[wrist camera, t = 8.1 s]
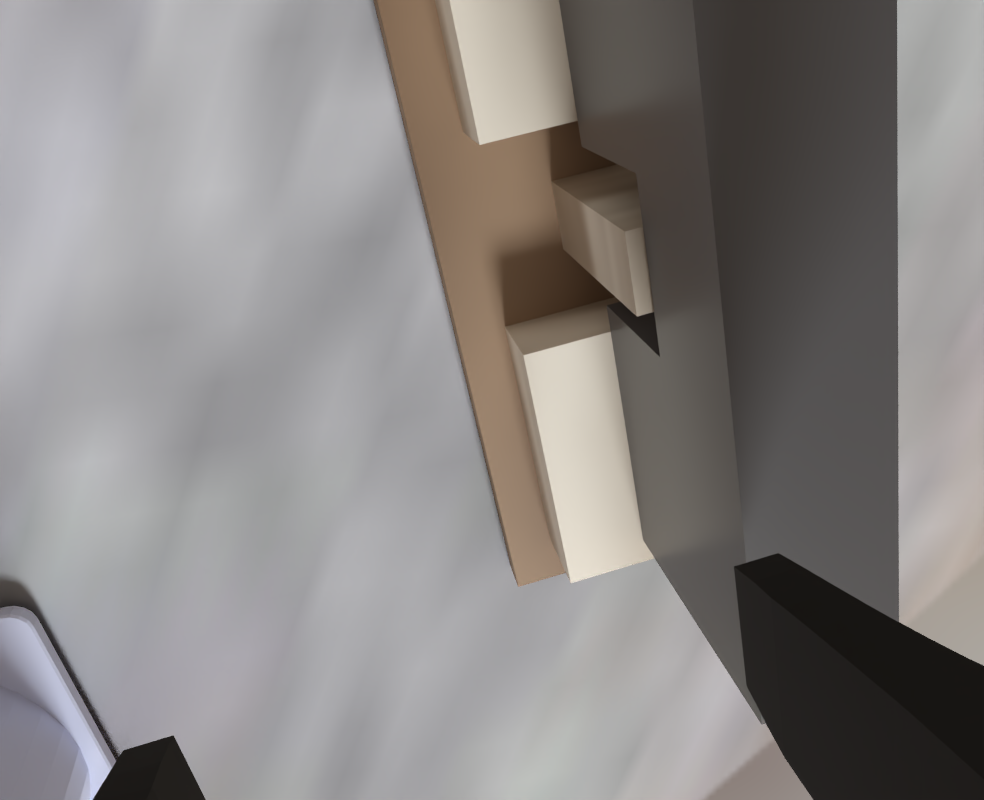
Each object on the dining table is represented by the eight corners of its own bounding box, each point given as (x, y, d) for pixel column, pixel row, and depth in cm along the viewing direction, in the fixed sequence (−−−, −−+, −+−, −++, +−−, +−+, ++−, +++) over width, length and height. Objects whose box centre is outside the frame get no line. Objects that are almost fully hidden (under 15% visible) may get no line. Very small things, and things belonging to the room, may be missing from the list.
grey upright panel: (523, -226, 13) (657, -369, 8) (689, -260, 13) (917, -417, 8) (643, 540, 19) (761, 724, 14) (756, 507, 19) (911, 677, 14)
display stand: (511, 567, 22) (568, 719, 17) (310, -260, 14) (315, -387, 10) (812, 479, 23) (945, 601, 18) (765, -352, 15) (970, -512, 11)
